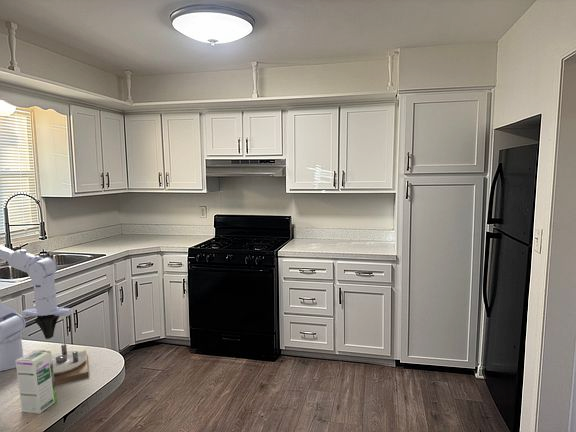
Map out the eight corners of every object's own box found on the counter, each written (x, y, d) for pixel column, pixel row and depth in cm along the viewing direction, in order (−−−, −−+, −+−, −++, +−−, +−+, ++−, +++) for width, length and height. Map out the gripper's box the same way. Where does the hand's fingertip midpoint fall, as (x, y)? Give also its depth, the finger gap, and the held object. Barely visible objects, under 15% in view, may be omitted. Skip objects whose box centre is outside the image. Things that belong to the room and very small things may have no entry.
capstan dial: (43, 360, 125) (41, 346, 124) (87, 352, 129) (86, 339, 129) (32, 379, 113) (30, 365, 112) (82, 370, 117) (80, 356, 117)
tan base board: (38, 365, 125) (37, 359, 125) (86, 354, 132) (86, 349, 132) (33, 390, 110) (33, 383, 110) (88, 376, 117) (87, 370, 117)
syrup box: (39, 414, 99) (34, 360, 97) (20, 412, 100) (14, 359, 98) (57, 401, 104) (52, 350, 103) (38, 399, 106) (33, 349, 104)
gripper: (75, 292, 126) (78, 331, 128) (31, 293, 126) (35, 332, 128) (62, 299, 119) (66, 341, 121) (16, 300, 119) (20, 342, 121)
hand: (49, 337), depth 124 cm, fingers closed
